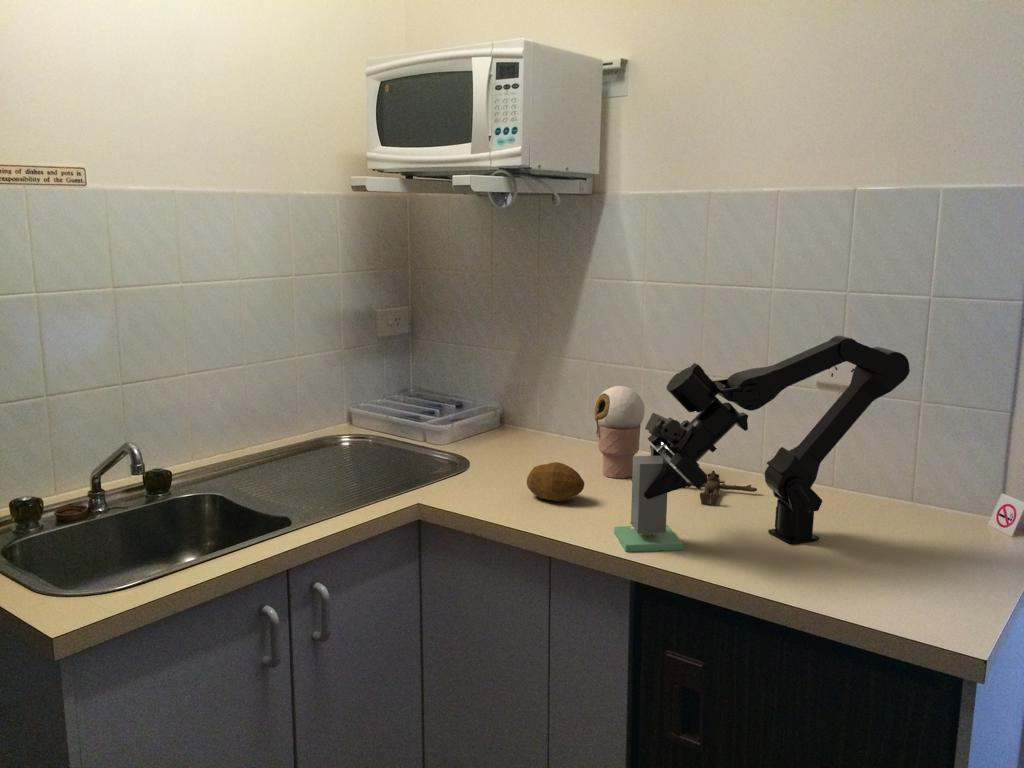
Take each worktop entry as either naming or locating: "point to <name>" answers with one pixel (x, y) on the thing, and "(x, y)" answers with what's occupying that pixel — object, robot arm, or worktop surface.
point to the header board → (647, 540)
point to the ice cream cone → (618, 429)
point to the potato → (554, 482)
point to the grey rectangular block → (646, 511)
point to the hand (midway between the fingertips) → (641, 492)
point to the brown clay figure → (714, 486)
